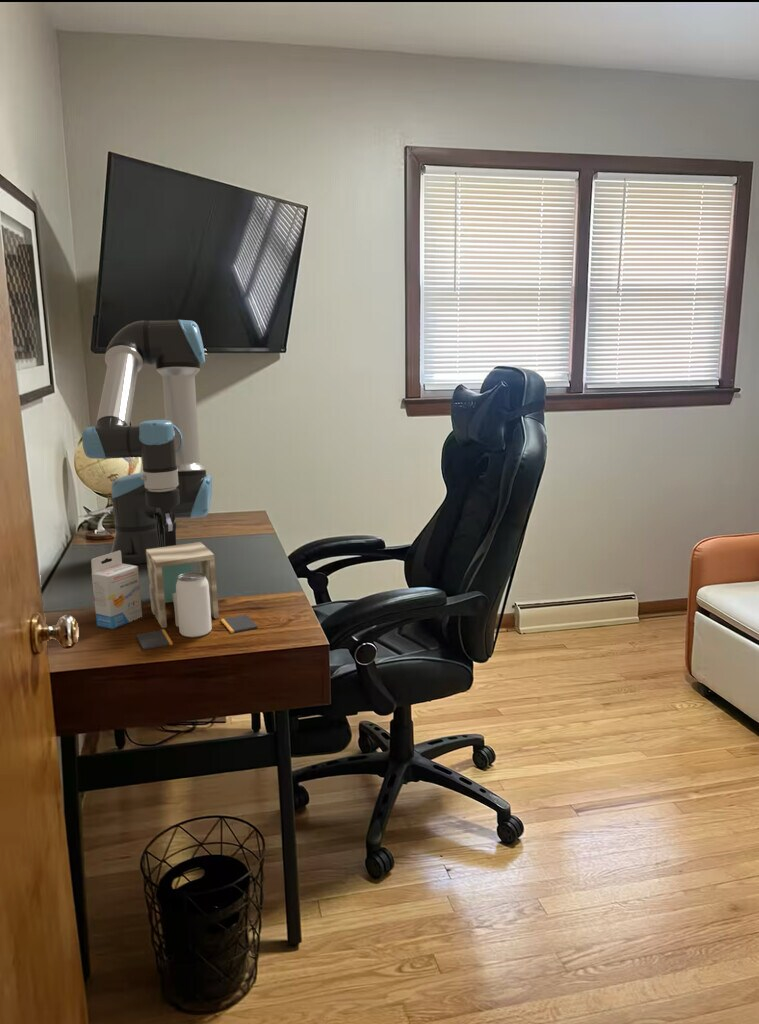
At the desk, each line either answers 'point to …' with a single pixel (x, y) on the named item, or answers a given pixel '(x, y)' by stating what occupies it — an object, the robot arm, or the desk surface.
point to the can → (193, 604)
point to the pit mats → (163, 639)
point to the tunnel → (174, 557)
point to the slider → (173, 583)
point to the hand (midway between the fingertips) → (170, 586)
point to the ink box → (115, 591)
